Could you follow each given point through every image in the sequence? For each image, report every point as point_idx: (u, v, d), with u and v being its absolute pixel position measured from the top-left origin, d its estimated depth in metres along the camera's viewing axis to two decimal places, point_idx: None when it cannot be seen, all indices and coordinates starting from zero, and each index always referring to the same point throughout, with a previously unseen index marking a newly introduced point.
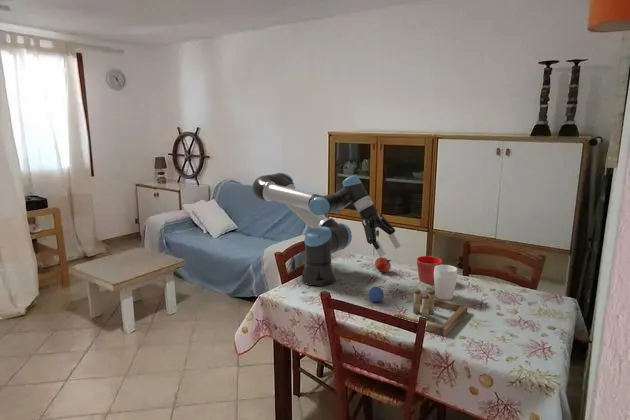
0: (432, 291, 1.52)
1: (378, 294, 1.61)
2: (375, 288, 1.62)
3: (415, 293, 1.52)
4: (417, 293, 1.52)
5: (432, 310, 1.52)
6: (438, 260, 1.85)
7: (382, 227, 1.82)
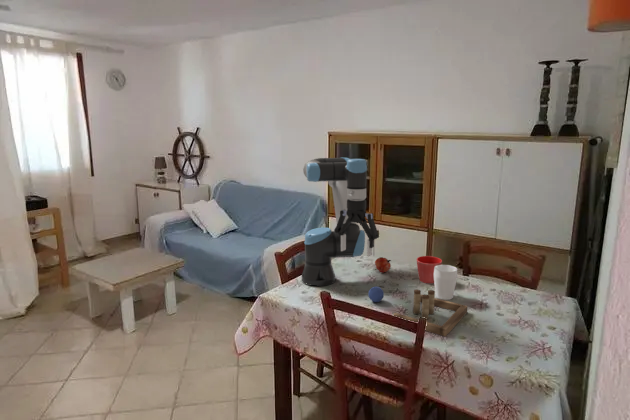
0: (432, 291, 1.52)
1: (378, 294, 1.61)
2: (375, 288, 1.62)
3: (415, 293, 1.52)
4: (417, 293, 1.52)
5: (432, 310, 1.52)
6: (438, 260, 1.85)
7: None
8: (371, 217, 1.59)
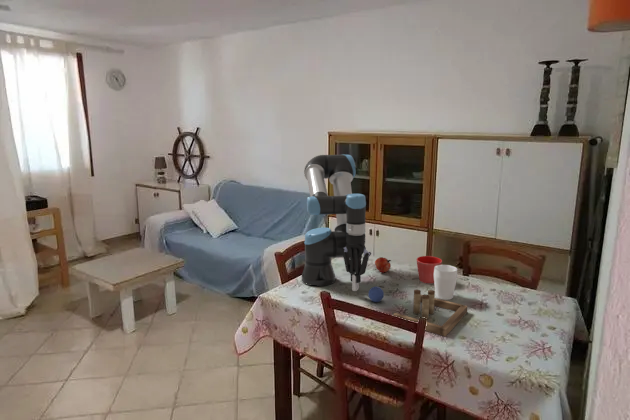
0: (432, 291, 1.52)
1: (378, 294, 1.61)
2: (375, 288, 1.62)
3: (415, 293, 1.52)
4: (417, 293, 1.52)
5: (432, 310, 1.52)
6: (438, 260, 1.85)
7: None
8: (367, 256, 1.63)
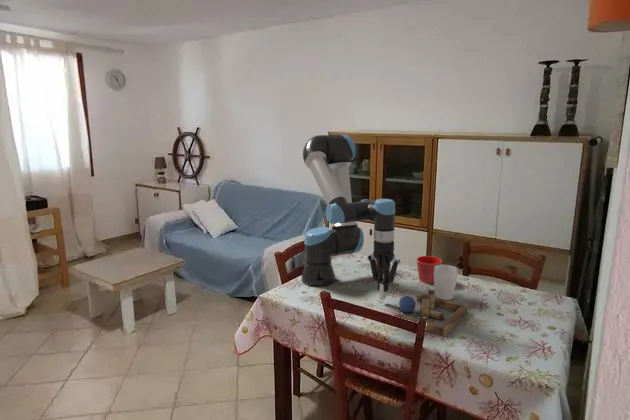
0: (432, 291, 1.52)
1: (400, 302, 1.54)
2: None
3: (439, 316, 1.48)
4: (440, 318, 1.48)
5: None
6: (438, 260, 1.85)
7: None
8: (397, 264, 1.56)
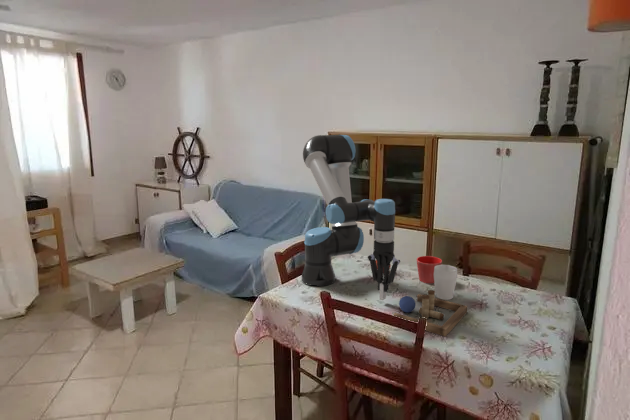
0: (432, 291, 1.52)
1: (400, 302, 1.54)
2: None
3: (439, 317, 1.48)
4: (440, 319, 1.48)
5: (432, 310, 1.52)
6: (438, 260, 1.85)
7: None
8: (397, 264, 1.56)
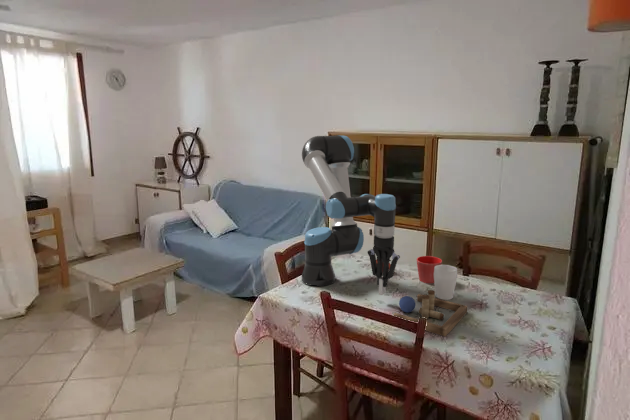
0: (432, 291, 1.52)
1: (400, 302, 1.54)
2: None
3: (439, 317, 1.48)
4: (440, 319, 1.48)
5: (432, 310, 1.52)
6: (438, 260, 1.85)
7: None
8: (396, 260, 1.55)
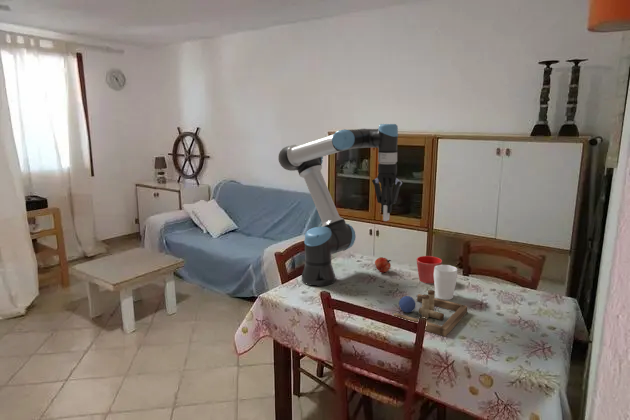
0: (432, 291, 1.52)
1: (400, 302, 1.54)
2: None
3: (439, 317, 1.48)
4: (440, 319, 1.48)
5: (432, 310, 1.52)
6: (438, 260, 1.85)
7: None
8: (399, 185, 1.66)
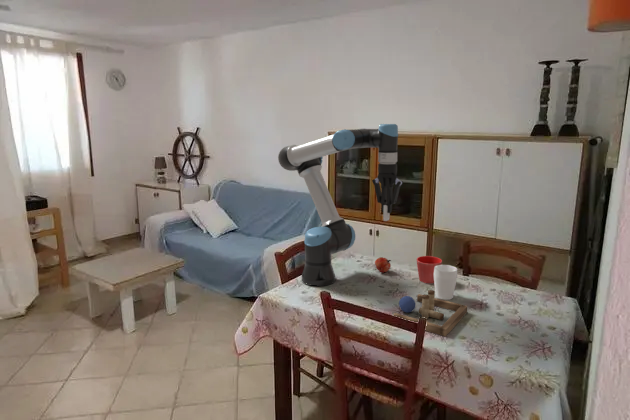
0: (432, 291, 1.52)
1: (400, 302, 1.54)
2: None
3: (439, 317, 1.48)
4: (440, 319, 1.48)
5: (432, 310, 1.52)
6: (438, 260, 1.85)
7: None
8: (399, 185, 1.66)
